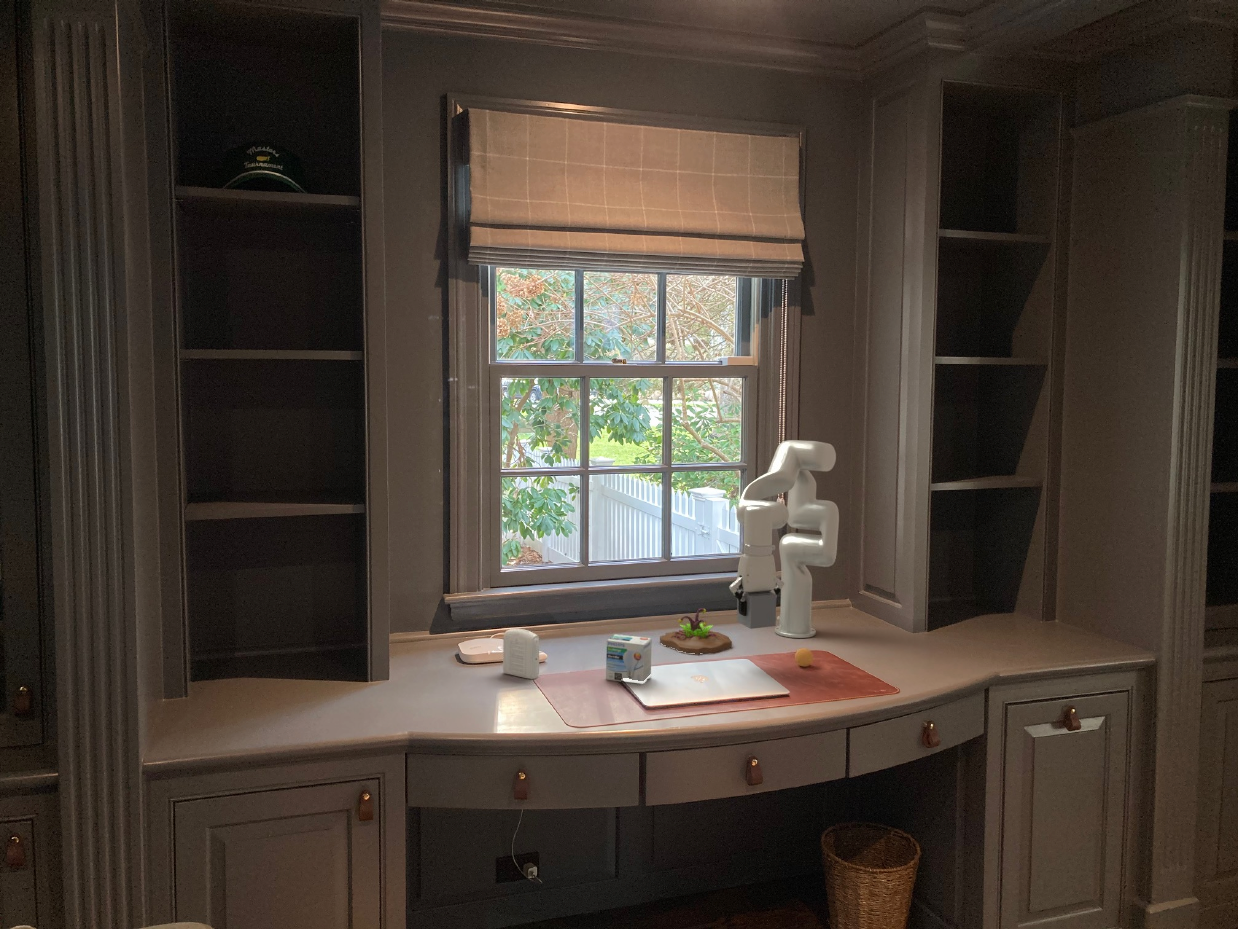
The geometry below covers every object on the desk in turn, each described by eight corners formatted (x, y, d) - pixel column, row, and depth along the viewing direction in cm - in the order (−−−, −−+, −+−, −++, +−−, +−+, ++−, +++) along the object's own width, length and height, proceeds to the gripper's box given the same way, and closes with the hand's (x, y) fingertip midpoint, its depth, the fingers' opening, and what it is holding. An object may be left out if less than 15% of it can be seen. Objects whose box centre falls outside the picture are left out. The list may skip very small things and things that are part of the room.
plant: (743, 649, 271) (744, 612, 270) (692, 659, 261) (692, 620, 260) (701, 633, 288) (702, 598, 287) (651, 642, 277) (651, 606, 276)
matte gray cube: (737, 621, 254) (737, 590, 253) (761, 618, 256) (762, 588, 255) (750, 628, 246) (751, 596, 246) (775, 626, 249) (776, 594, 248)
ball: (791, 664, 255) (791, 647, 255) (806, 662, 257) (807, 645, 257) (800, 669, 251) (801, 652, 250) (816, 668, 253) (817, 650, 252)
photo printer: (541, 676, 243) (541, 630, 241) (532, 680, 239) (532, 634, 238) (510, 669, 248) (510, 625, 247) (500, 674, 244) (500, 628, 243)
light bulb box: (605, 680, 240) (605, 639, 239) (614, 672, 246) (614, 633, 246) (643, 685, 237) (644, 644, 236) (651, 677, 243) (652, 637, 242)
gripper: (778, 545, 256) (777, 607, 258) (722, 549, 250) (721, 612, 252) (792, 550, 249) (791, 614, 251) (735, 555, 243) (734, 619, 245)
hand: (756, 613), depth 251 cm, fingers closed on matte gray cube, 7 cm apart
